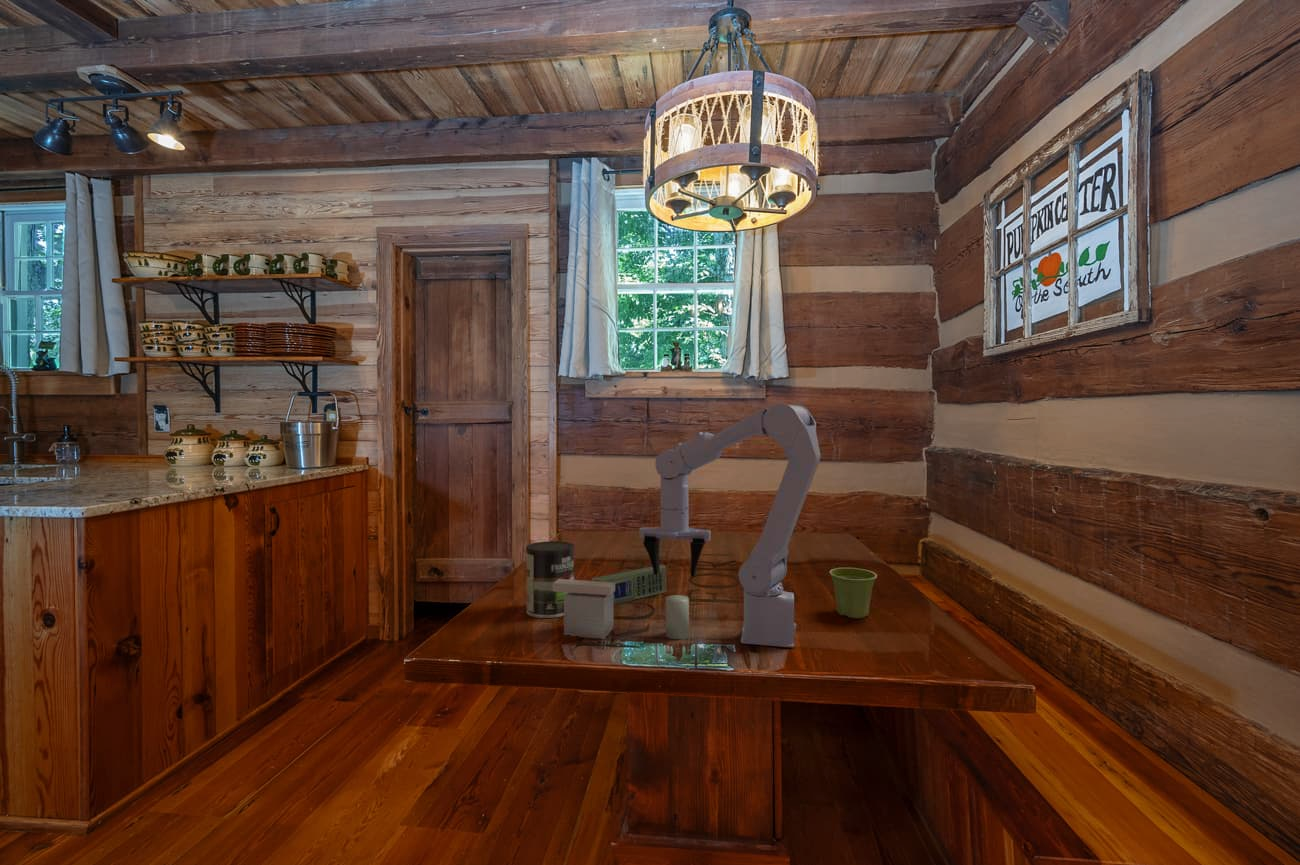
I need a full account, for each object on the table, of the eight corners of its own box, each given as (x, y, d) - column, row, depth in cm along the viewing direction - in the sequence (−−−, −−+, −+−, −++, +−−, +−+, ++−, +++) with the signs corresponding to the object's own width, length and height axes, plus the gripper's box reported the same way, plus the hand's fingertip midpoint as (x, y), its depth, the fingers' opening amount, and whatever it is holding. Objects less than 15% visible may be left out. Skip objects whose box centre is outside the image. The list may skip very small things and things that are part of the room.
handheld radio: (668, 593, 134) (578, 616, 118) (659, 591, 137) (570, 612, 121) (667, 565, 134) (577, 584, 119) (659, 563, 137) (569, 581, 121)
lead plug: (690, 631, 109) (690, 595, 108) (686, 640, 104) (686, 602, 104) (668, 630, 110) (668, 594, 109) (663, 638, 105) (663, 601, 105)
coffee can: (584, 609, 122) (584, 544, 122) (549, 622, 114) (548, 553, 114) (551, 600, 129) (551, 538, 128) (516, 612, 120) (515, 546, 120)
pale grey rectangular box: (615, 590, 109) (615, 582, 109) (610, 595, 106) (610, 586, 106) (558, 587, 112) (558, 579, 112) (552, 591, 109) (552, 583, 109)
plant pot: (884, 621, 114) (884, 579, 114) (838, 621, 114) (838, 579, 114) (866, 606, 123) (866, 567, 123) (823, 607, 123) (823, 567, 123)
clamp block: (613, 627, 111) (613, 589, 111) (604, 638, 105) (604, 599, 105) (575, 624, 113) (575, 587, 113) (564, 635, 107) (563, 596, 107)
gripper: (635, 509, 113) (635, 577, 113) (707, 512, 109) (707, 581, 109) (643, 505, 120) (643, 568, 120) (711, 507, 116) (711, 572, 116)
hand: (674, 574), depth 115 cm, fingers open, 7 cm apart
